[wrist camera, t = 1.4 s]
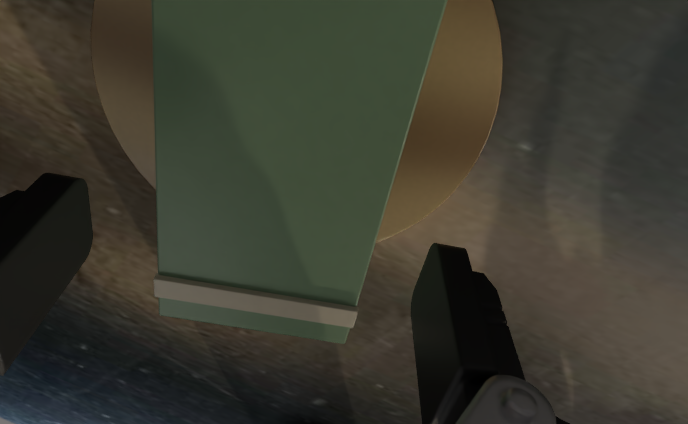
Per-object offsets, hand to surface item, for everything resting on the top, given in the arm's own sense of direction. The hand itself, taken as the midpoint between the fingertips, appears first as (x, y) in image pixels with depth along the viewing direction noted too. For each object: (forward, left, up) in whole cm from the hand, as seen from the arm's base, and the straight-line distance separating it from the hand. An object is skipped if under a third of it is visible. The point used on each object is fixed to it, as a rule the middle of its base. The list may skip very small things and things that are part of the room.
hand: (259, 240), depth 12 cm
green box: (0, 0, -8) cm, 8 cm away
